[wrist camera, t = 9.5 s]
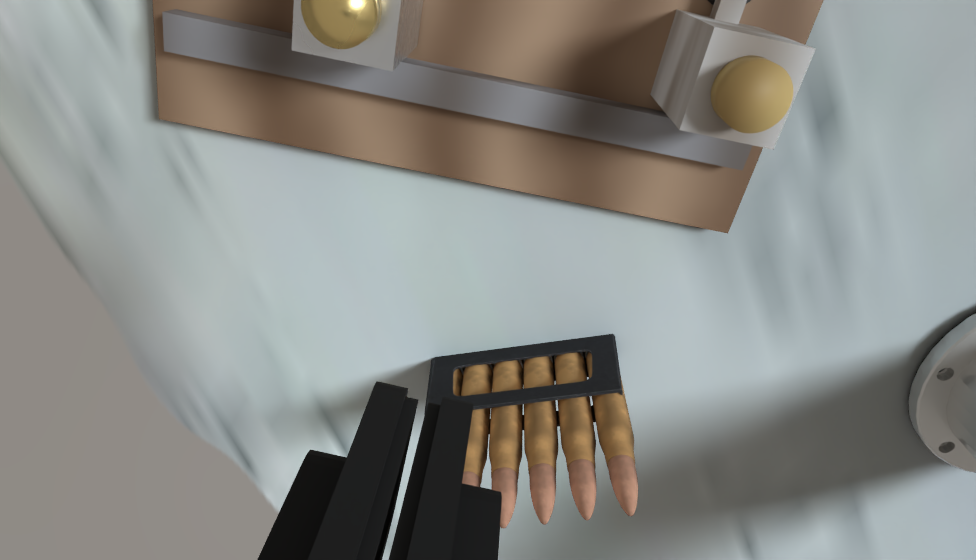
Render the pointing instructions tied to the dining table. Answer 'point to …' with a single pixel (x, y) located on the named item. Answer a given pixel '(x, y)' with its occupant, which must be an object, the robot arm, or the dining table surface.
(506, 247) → the dining table surface
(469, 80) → the board
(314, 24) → the metal block with knob
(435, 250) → the dining table surface
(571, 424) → the ammunition clip
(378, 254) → the dining table surface
